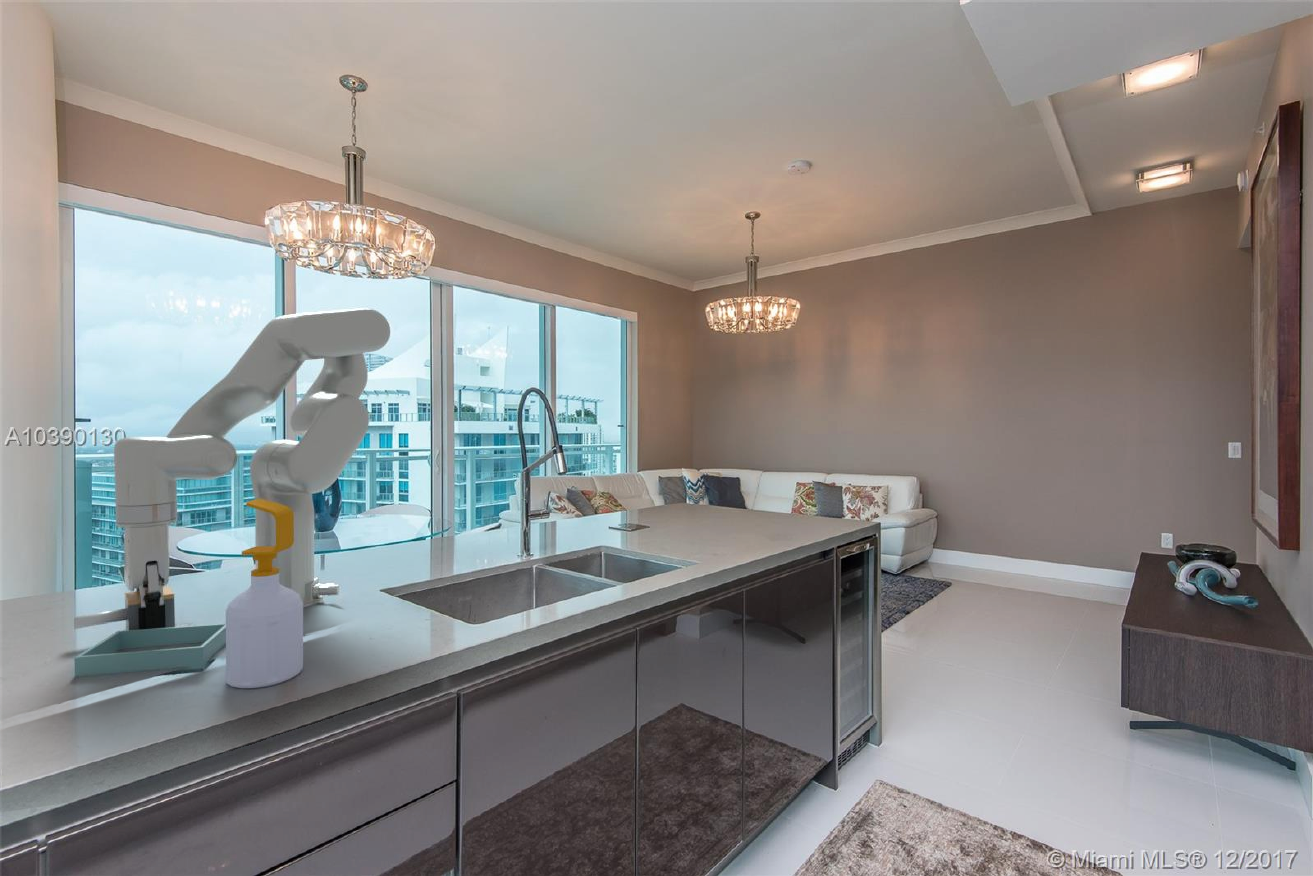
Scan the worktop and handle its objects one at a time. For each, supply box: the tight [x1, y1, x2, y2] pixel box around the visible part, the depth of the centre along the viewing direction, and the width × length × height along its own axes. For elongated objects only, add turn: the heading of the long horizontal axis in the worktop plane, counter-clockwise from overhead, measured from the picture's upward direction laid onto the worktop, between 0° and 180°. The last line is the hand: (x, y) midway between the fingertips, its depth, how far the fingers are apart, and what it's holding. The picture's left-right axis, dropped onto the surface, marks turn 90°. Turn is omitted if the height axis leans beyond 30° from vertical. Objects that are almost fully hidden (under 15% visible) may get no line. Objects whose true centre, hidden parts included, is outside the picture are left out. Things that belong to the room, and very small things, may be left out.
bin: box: [73, 622, 226, 677], centre depth 89 cm, size 15×11×4 cm
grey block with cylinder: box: [73, 586, 176, 630], centre depth 96 cm, size 12×6×6 cm, turn 135°
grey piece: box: [122, 622, 193, 631], centre depth 97 cm, size 9×9×6 cm
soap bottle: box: [225, 499, 304, 689], centre depth 85 cm, size 9×9×25 cm
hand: (150, 625), depth 98 cm, fingers closed on grey block with cylinder, 5 cm apart
